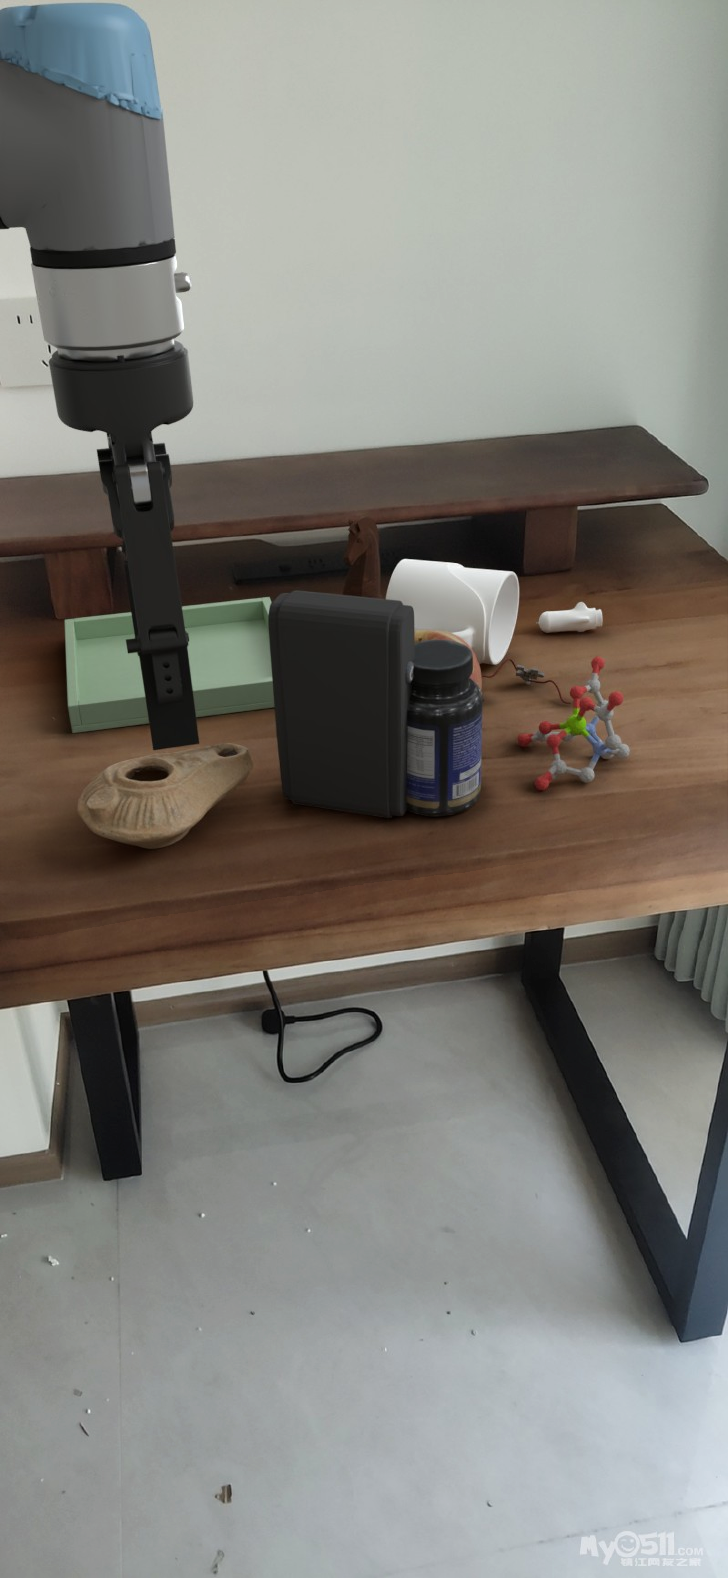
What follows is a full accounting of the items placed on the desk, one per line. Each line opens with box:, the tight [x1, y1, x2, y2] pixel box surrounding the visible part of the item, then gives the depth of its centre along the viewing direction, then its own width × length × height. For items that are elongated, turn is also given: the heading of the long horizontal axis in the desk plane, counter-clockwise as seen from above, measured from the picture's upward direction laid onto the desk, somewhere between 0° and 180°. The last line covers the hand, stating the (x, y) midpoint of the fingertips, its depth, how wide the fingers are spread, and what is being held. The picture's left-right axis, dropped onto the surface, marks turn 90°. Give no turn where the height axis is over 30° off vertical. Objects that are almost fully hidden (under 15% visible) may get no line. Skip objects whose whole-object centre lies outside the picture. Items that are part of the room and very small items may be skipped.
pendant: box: [481, 658, 571, 705], centre depth 96 cm, size 8×4×3 cm
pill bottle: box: [406, 639, 484, 817], centre depth 80 cm, size 6×6×11 cm
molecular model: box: [516, 656, 631, 791], centre depth 84 cm, size 7×8×8 cm
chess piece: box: [342, 515, 383, 599], centre depth 107 cm, size 5×5×10 cm
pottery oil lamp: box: [77, 742, 254, 850], centre depth 79 cm, size 9×12×7 cm
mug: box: [385, 558, 520, 666], centre depth 99 cm, size 12×9×8 cm
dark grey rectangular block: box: [268, 589, 415, 819], centre depth 79 cm, size 9×4×15 cm, turn 72°
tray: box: [64, 596, 274, 734], centre depth 101 cm, size 19×18×2 cm
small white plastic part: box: [537, 601, 603, 634], centre depth 106 cm, size 4×6×3 cm, turn 66°
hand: (166, 694), depth 75 cm, fingers open, 13 cm apart
